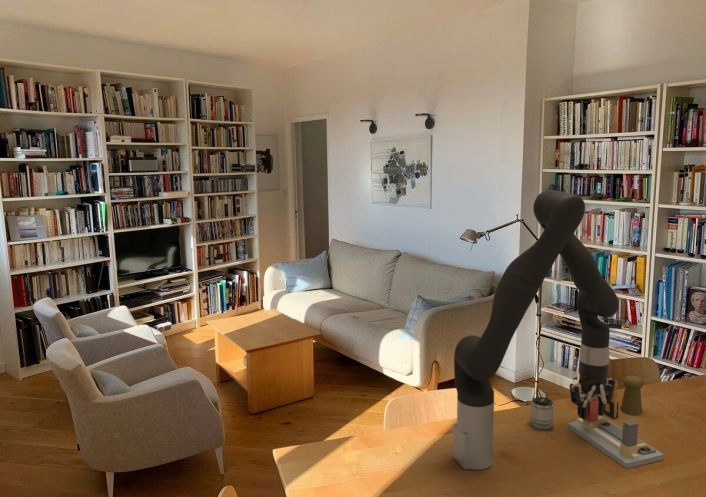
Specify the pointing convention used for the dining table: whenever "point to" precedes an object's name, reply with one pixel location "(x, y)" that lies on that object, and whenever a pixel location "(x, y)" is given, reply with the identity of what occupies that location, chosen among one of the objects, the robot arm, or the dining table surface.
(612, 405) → the ammunition clip
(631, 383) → the olive pepper mill
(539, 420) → the camera lens
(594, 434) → the grey slider track base
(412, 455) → the dining table surface
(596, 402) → the red slider with pointer
